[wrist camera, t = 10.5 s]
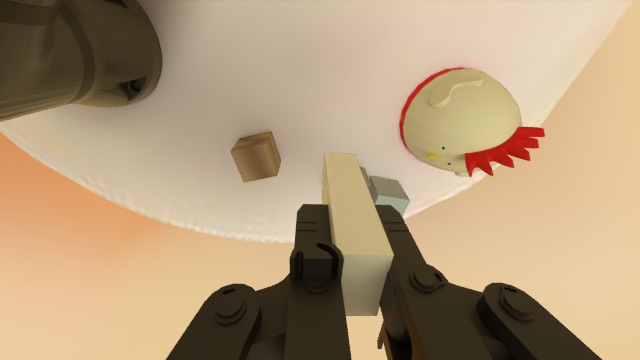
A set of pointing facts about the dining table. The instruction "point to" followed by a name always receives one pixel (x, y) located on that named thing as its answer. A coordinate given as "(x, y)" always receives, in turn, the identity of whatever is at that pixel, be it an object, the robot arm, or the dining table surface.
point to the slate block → (388, 193)
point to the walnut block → (256, 157)
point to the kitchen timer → (465, 123)
